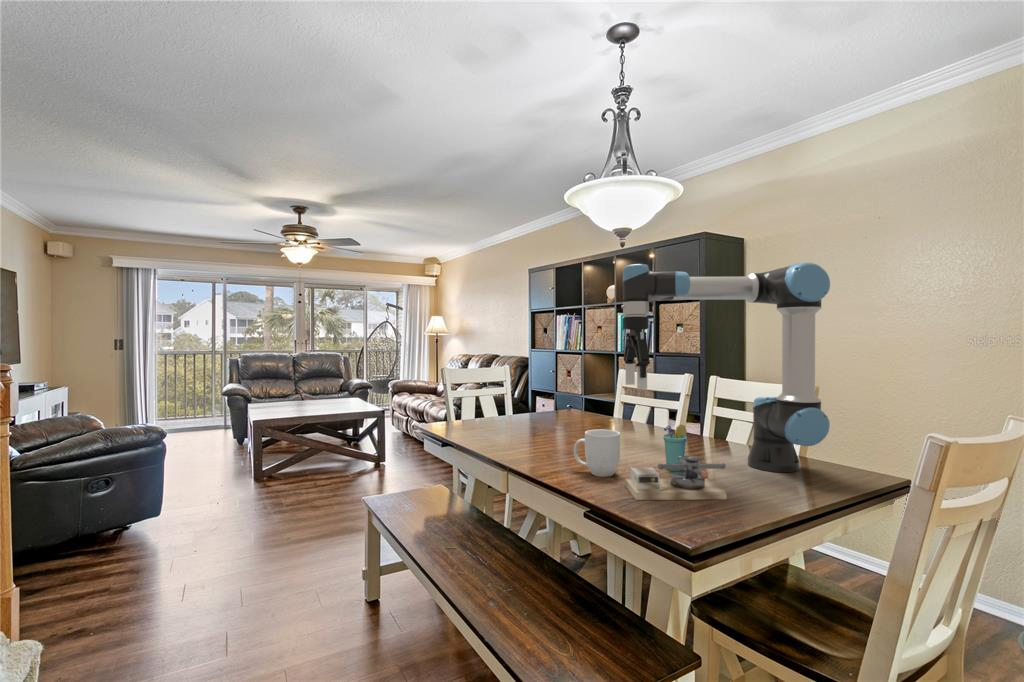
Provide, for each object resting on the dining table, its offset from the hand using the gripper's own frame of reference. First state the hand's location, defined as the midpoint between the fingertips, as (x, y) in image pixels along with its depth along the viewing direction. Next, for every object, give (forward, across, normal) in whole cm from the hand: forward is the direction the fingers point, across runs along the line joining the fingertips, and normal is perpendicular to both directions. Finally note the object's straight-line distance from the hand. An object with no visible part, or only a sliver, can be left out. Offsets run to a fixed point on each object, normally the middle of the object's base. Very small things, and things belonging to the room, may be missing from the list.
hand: (635, 386), depth 146 cm
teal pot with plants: (+28, -10, +15) cm, 34 cm away
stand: (+28, +13, +7) cm, 31 cm away
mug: (+28, -6, -10) cm, 31 cm away
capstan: (+26, +13, +12) cm, 31 cm away
